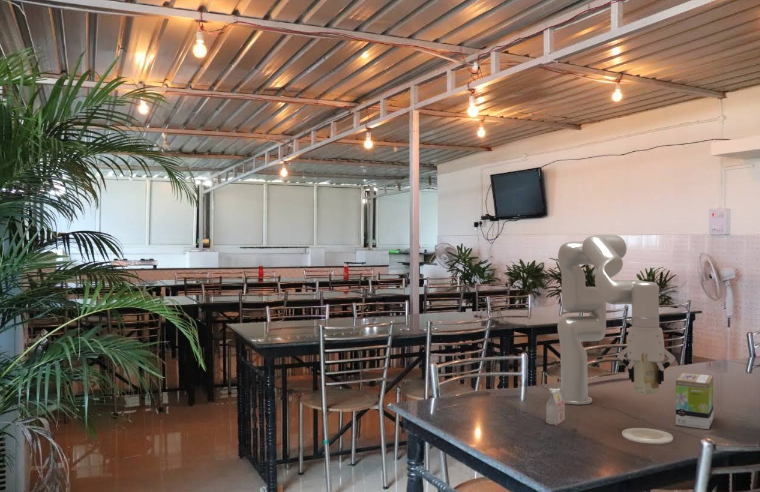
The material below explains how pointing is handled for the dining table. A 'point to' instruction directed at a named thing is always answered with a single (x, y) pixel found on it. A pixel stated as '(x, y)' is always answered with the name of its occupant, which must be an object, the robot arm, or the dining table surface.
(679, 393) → the tea box
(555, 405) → the white milk carton
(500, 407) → the dining table surface
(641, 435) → the saucer
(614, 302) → the robot arm
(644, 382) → the skincare box
